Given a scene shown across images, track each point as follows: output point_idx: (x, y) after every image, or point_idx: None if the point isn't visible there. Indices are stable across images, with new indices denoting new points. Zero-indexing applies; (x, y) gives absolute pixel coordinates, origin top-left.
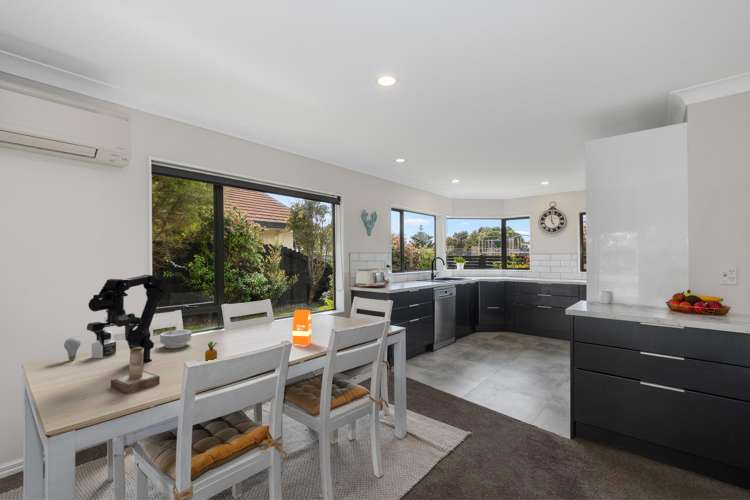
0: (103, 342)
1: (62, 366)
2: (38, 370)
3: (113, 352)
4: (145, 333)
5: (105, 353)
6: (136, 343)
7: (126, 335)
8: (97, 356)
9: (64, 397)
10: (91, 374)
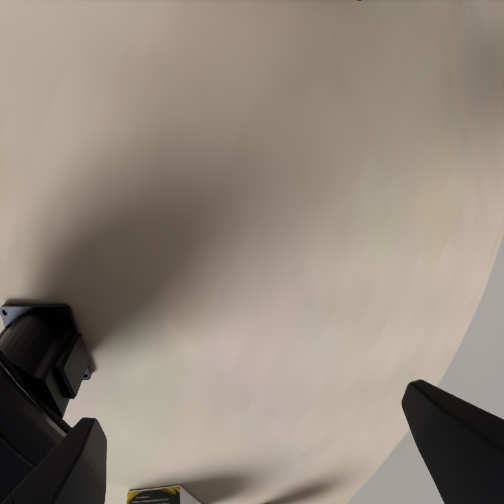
0: (445, 400)
1: (307, 479)
2: (360, 473)
3: (136, 499)
4: None
5: (168, 501)
6: (20, 409)
7: (85, 500)
8: (192, 500)
9: (490, 89)
10: (312, 328)
